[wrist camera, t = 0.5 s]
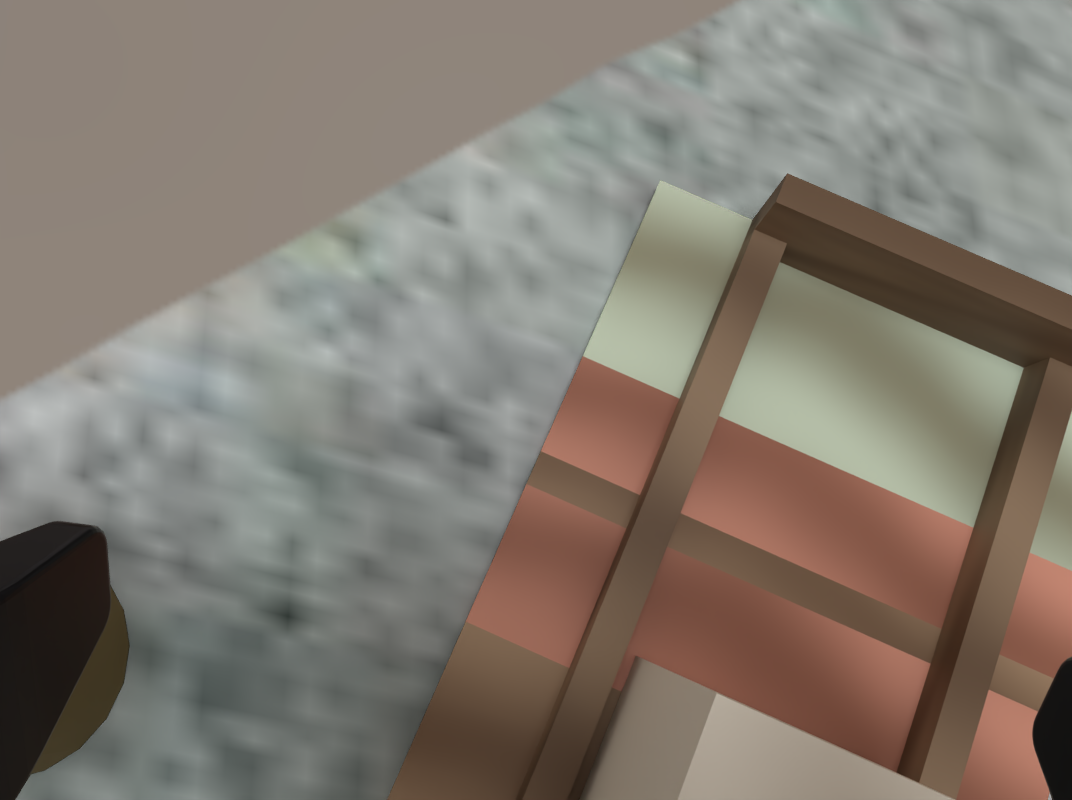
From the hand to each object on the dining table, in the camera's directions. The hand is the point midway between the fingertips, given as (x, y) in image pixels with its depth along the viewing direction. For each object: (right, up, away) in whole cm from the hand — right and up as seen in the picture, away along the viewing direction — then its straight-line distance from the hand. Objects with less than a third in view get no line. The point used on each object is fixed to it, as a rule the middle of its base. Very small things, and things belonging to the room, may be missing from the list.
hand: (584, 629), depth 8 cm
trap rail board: (+6, -4, +16) cm, 18 cm away
